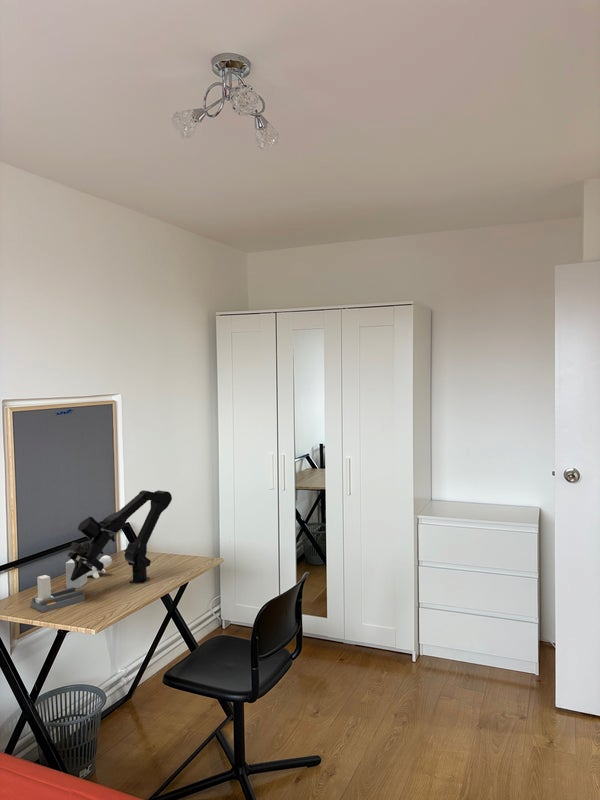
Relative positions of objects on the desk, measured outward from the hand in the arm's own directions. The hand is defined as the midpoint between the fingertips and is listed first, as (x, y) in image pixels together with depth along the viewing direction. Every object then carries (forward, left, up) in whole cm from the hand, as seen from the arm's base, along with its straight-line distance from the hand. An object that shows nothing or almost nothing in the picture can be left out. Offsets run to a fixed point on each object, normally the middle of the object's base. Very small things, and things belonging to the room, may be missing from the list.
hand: (71, 580), depth 231 cm
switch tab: (+9, -6, -5) cm, 12 cm away
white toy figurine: (-30, -6, -8) cm, 32 cm away
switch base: (+5, -3, -7) cm, 9 cm away
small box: (-17, -7, -8) cm, 20 cm away
